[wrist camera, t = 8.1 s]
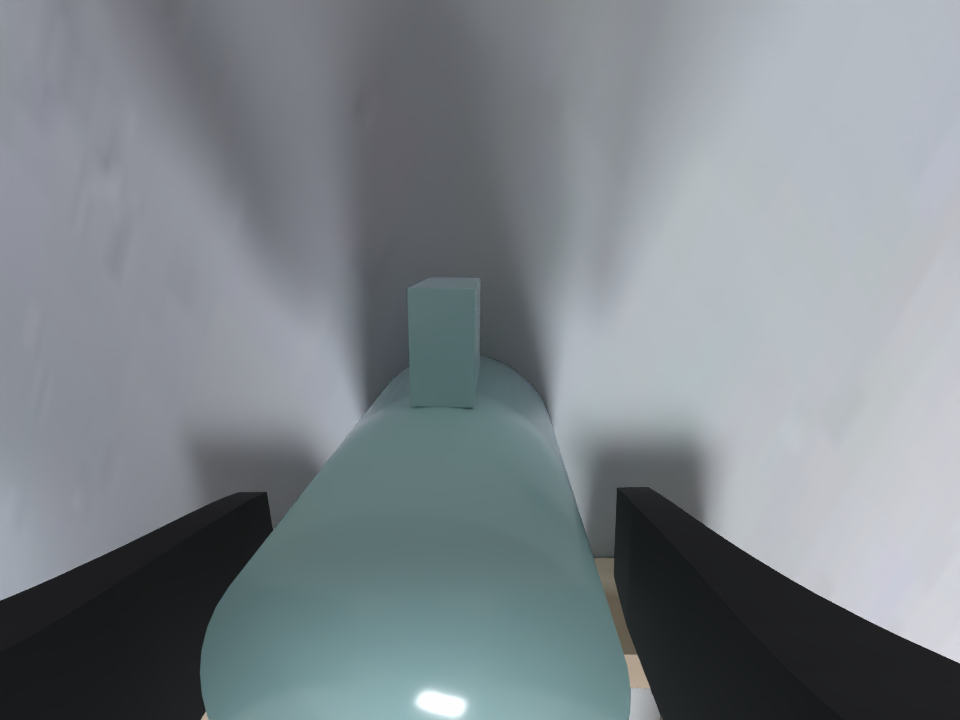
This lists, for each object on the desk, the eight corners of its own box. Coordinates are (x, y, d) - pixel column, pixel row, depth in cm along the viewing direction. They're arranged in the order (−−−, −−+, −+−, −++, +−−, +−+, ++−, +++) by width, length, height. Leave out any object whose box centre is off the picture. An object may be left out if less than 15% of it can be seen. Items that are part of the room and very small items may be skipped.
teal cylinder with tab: (562, 275, 12) (674, 323, 5) (548, 527, 14) (612, 866, 6) (359, 272, 12) (136, 315, 5) (372, 521, 14) (228, 846, 7)
